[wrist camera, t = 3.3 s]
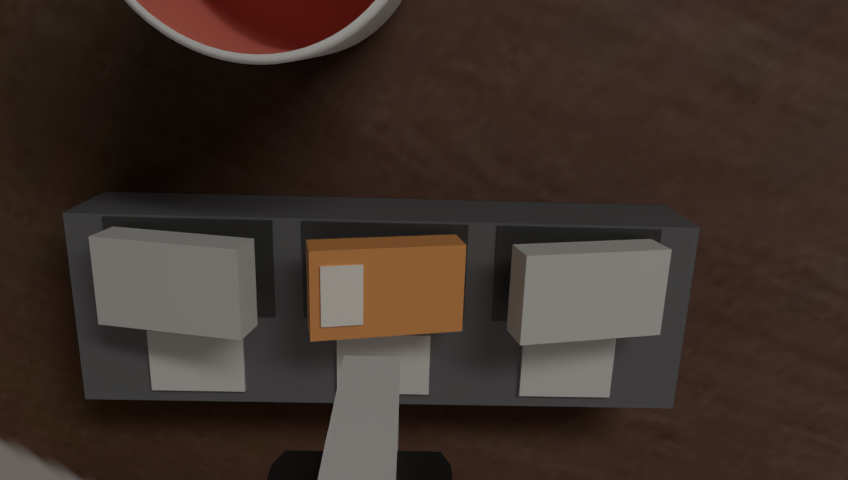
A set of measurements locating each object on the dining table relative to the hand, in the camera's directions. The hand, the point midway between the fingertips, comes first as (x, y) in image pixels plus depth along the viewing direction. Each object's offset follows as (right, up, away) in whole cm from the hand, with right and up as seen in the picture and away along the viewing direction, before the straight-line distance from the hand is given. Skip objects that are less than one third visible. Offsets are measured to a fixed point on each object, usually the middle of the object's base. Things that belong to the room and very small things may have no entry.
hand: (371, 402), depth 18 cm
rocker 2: (0, +3, +9) cm, 9 cm away
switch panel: (0, +2, +15) cm, 15 cm away
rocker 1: (-8, +3, +9) cm, 12 cm away
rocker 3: (+8, +3, +9) cm, 12 cm away
